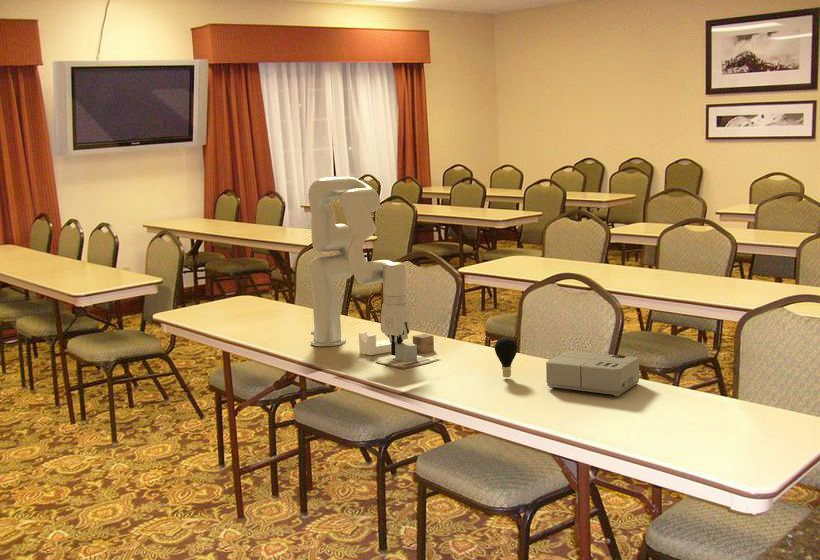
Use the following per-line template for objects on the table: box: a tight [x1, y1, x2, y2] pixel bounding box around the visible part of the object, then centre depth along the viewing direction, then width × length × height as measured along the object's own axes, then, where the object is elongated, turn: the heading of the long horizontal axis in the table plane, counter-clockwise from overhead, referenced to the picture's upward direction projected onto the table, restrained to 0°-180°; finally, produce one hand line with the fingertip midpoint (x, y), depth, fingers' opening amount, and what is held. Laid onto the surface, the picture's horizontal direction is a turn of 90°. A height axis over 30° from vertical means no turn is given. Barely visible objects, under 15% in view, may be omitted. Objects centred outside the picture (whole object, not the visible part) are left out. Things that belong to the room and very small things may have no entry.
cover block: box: [394, 341, 418, 362], centre depth 282 cm, size 5×5×5 cm
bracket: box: [358, 331, 392, 356], centre depth 297 cm, size 13×7×8 cm, turn 123°
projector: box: [545, 350, 640, 397], centre depth 245 cm, size 17×22×8 cm
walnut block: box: [412, 333, 435, 355], centre depth 294 cm, size 5×5×6 cm
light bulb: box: [494, 336, 518, 378], centre depth 256 cm, size 7×7×12 cm
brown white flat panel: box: [375, 354, 441, 371], centre depth 282 cm, size 14×16×1 cm
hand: (396, 354), depth 286 cm, fingers closed
